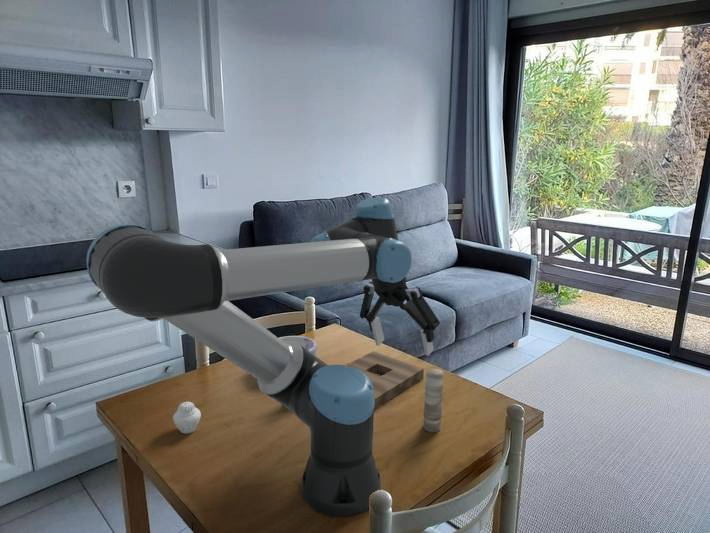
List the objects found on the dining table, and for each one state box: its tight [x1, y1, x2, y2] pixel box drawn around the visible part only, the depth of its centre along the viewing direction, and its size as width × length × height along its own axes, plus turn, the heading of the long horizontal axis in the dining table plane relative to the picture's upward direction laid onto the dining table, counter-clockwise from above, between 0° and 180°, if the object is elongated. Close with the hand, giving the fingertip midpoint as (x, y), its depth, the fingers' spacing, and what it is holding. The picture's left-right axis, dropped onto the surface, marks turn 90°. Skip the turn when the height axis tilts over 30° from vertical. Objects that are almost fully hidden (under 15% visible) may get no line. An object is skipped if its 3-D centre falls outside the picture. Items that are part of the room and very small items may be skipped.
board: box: [344, 351, 425, 411], centre depth 138 cm, size 24×18×3 cm
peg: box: [422, 368, 445, 433], centre depth 115 cm, size 4×4×14 cm
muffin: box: [172, 401, 202, 434], centre depth 114 cm, size 6×6×7 cm
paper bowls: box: [278, 335, 318, 358], centre depth 144 cm, size 15×15×8 cm
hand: (404, 347), depth 118 cm, fingers open, 13 cm apart
